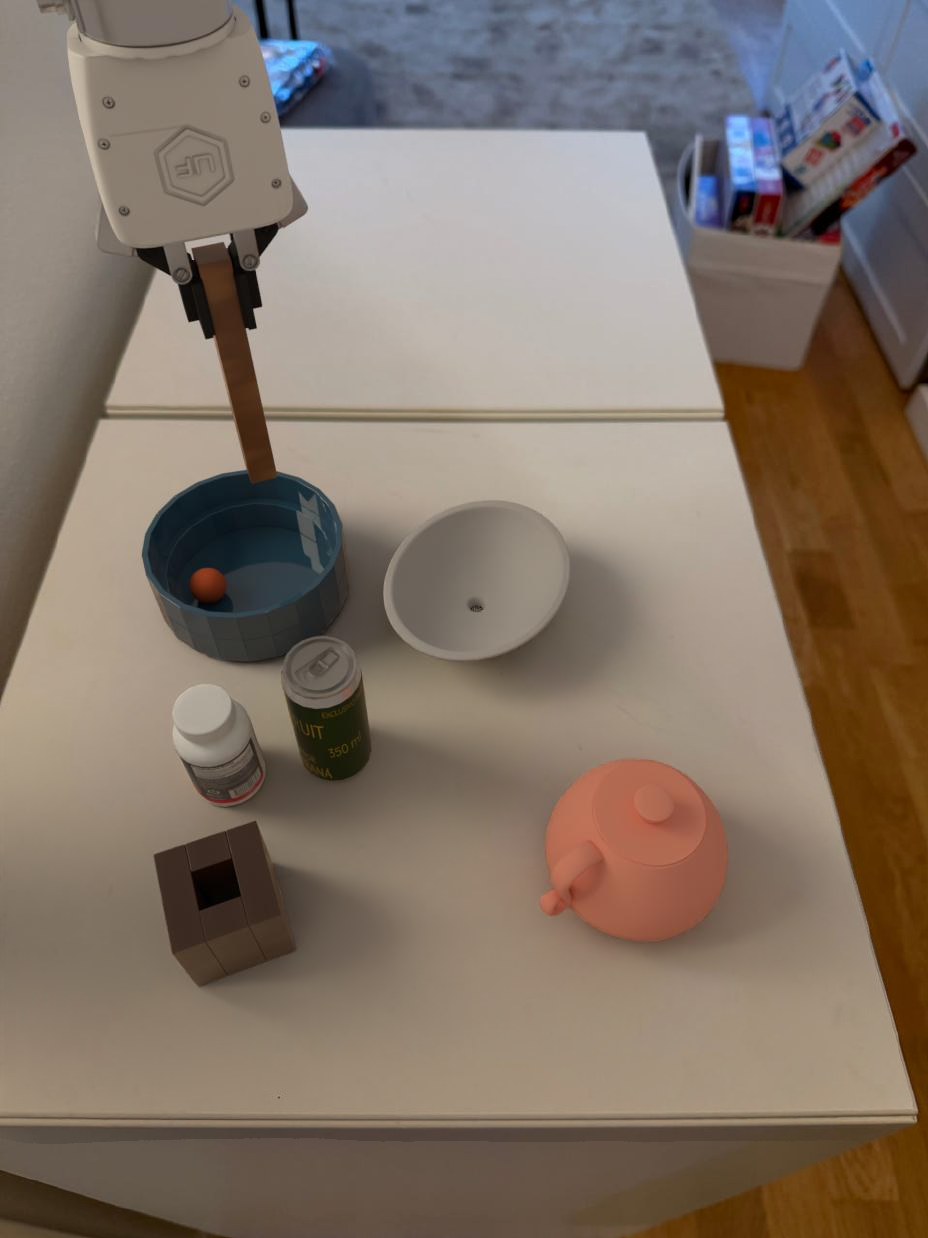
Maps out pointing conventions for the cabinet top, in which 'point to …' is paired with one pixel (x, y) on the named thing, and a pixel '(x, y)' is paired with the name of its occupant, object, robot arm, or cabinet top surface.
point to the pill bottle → (217, 745)
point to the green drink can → (327, 707)
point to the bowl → (248, 564)
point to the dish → (477, 580)
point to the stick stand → (223, 904)
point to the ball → (207, 585)
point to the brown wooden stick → (236, 359)
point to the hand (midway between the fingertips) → (226, 319)
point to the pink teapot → (635, 851)
